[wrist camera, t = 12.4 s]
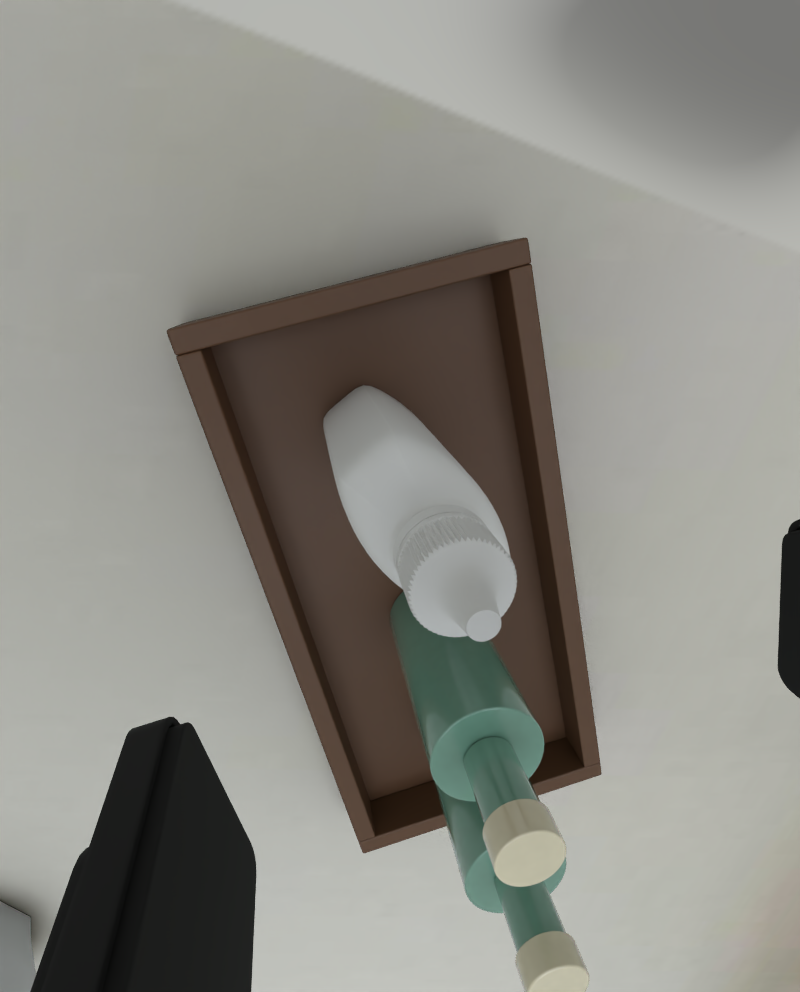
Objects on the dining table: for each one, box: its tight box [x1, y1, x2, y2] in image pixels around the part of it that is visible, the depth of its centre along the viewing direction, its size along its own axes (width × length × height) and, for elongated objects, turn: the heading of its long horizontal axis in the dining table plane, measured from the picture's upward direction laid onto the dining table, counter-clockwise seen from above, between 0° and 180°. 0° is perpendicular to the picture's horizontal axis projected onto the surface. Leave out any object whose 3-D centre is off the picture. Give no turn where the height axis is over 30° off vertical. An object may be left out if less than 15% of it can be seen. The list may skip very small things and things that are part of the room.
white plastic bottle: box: [323, 385, 517, 642], centre depth 17 cm, size 4×6×12 cm
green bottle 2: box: [434, 779, 590, 992], centre depth 22 cm, size 4×4×11 cm
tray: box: [167, 238, 601, 853], centre depth 24 cm, size 24×12×3 cm, turn 12°
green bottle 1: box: [389, 591, 566, 887], centre depth 20 cm, size 4×4×11 cm
